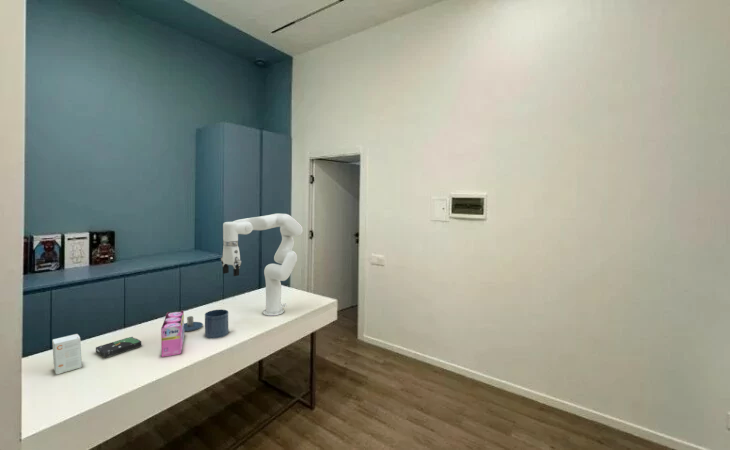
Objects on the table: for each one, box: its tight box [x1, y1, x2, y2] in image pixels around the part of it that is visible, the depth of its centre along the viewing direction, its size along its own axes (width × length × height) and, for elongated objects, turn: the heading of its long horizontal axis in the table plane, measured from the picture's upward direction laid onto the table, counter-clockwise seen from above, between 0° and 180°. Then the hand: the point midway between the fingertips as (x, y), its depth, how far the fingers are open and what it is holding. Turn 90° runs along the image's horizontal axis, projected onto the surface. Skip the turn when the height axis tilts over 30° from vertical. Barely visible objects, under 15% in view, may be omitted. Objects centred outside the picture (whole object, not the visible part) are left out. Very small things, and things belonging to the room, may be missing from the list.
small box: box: [51, 333, 83, 375], centre depth 133 cm, size 8×6×13 cm
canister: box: [204, 308, 229, 339], centre depth 170 cm, size 11×11×12 cm
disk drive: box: [95, 336, 142, 359], centre depth 151 cm, size 10×3×15 cm
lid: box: [184, 315, 204, 332], centre depth 177 cm, size 12×12×6 cm
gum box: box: [160, 310, 185, 358], centre depth 156 cm, size 24×8×14 cm, turn 26°
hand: (231, 274), depth 178 cm, fingers open, 9 cm apart
